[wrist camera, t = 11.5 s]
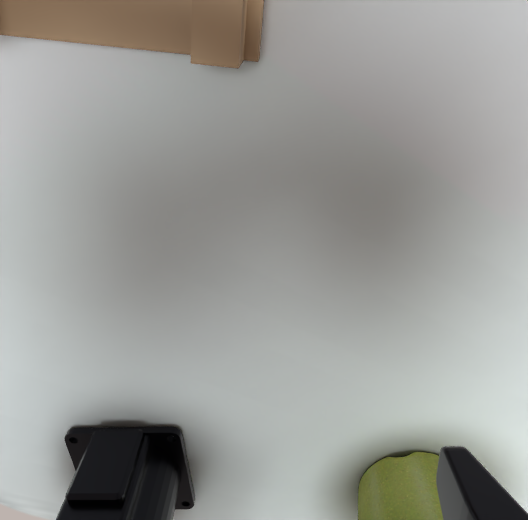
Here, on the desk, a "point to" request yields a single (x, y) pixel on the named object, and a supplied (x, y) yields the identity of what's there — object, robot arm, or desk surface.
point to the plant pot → (400, 489)
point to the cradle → (145, 25)
